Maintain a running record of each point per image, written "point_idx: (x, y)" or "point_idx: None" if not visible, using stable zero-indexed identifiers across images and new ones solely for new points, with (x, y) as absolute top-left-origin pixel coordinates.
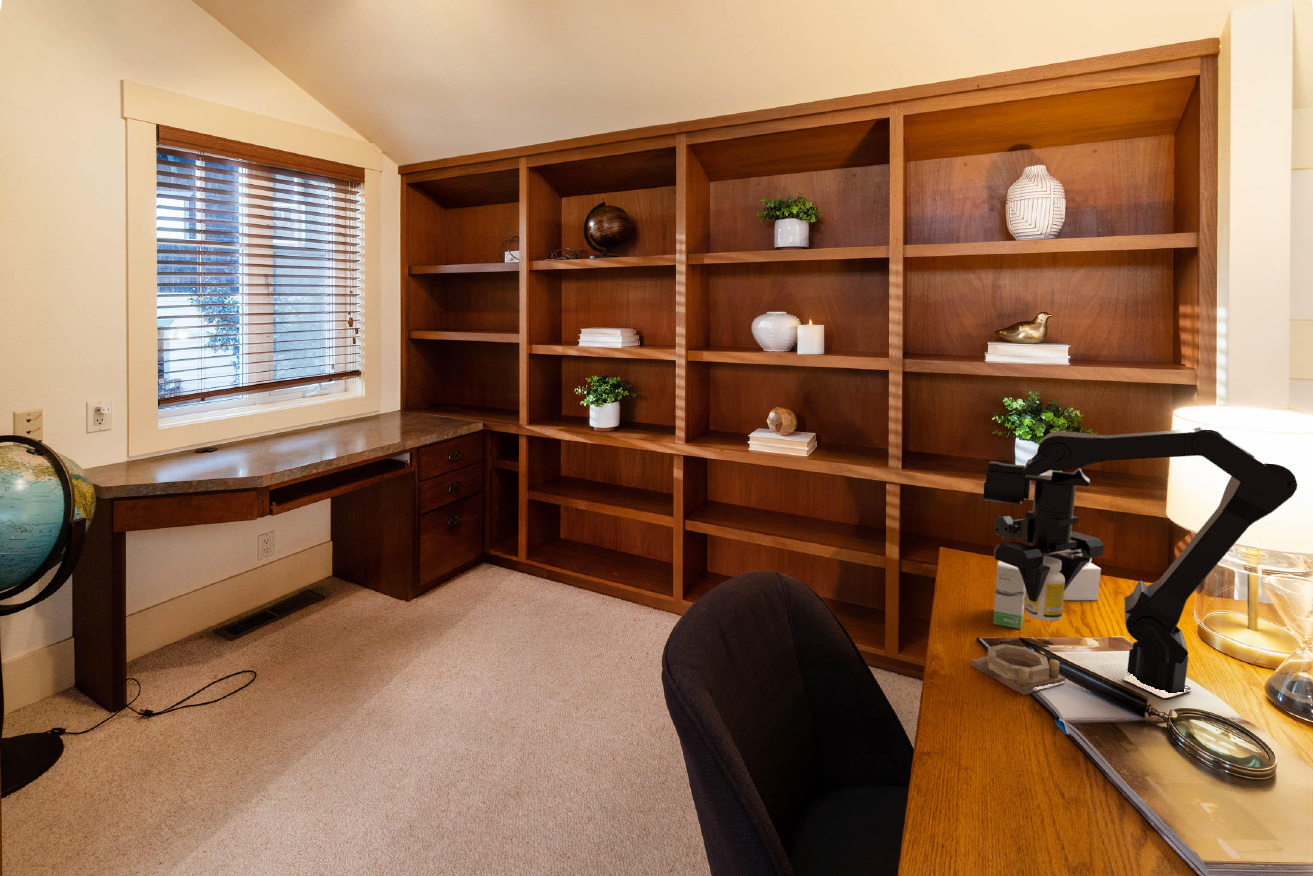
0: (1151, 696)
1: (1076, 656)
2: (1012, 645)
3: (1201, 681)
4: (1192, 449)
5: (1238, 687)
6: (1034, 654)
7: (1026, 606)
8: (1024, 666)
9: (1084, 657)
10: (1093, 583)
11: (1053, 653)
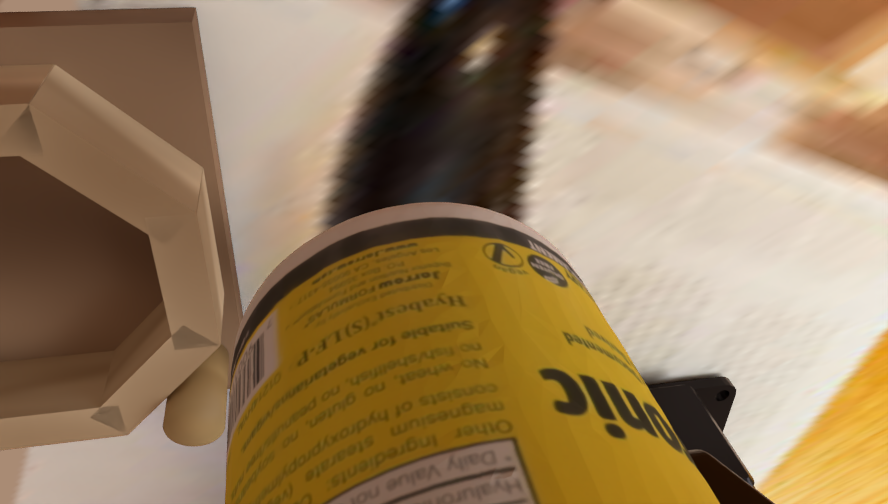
0: None
1: (622, 164)
2: (96, 150)
3: (816, 450)
4: None
5: (860, 493)
6: (166, 300)
7: (253, 342)
8: (101, 240)
9: (648, 187)
10: None
11: (536, 89)
